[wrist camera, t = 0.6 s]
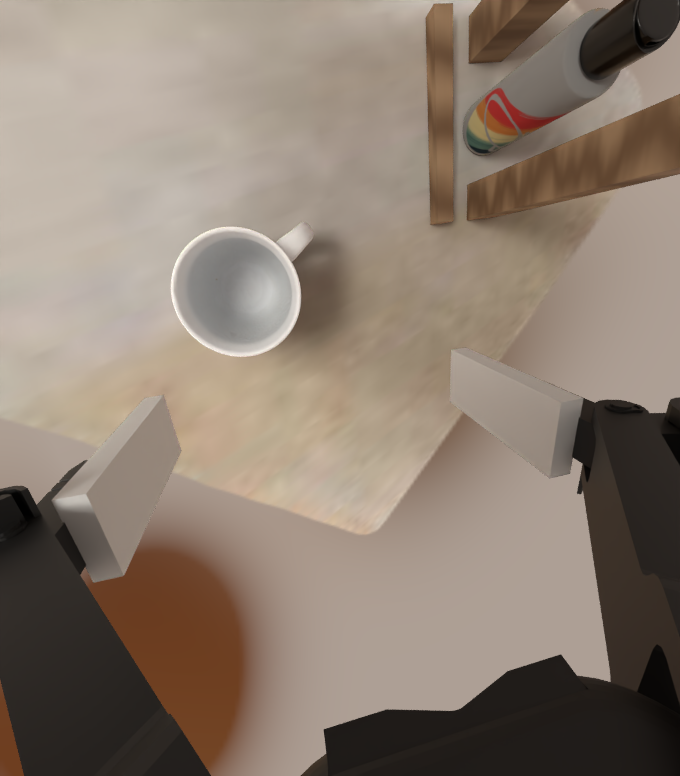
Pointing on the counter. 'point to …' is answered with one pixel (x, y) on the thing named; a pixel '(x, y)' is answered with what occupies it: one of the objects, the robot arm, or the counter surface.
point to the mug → (239, 288)
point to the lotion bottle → (568, 71)
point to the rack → (551, 168)
